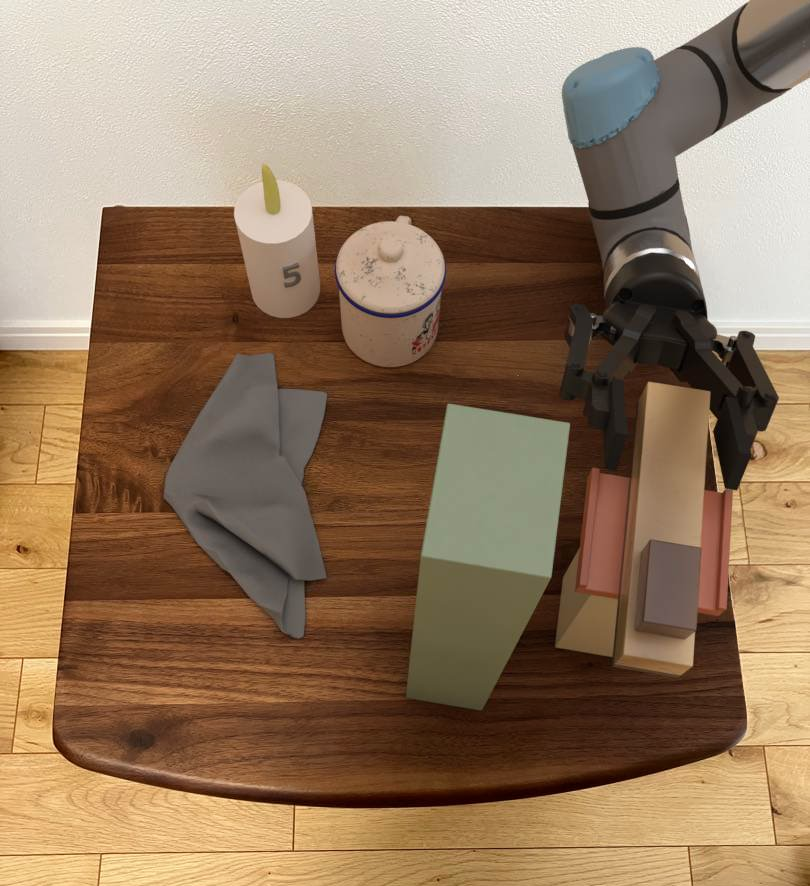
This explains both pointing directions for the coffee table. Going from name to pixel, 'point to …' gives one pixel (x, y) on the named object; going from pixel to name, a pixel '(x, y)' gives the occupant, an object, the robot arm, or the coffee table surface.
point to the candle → (278, 246)
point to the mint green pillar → (484, 550)
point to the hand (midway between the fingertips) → (676, 461)
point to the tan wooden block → (663, 532)
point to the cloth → (253, 486)
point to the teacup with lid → (390, 292)
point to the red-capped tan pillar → (600, 557)
